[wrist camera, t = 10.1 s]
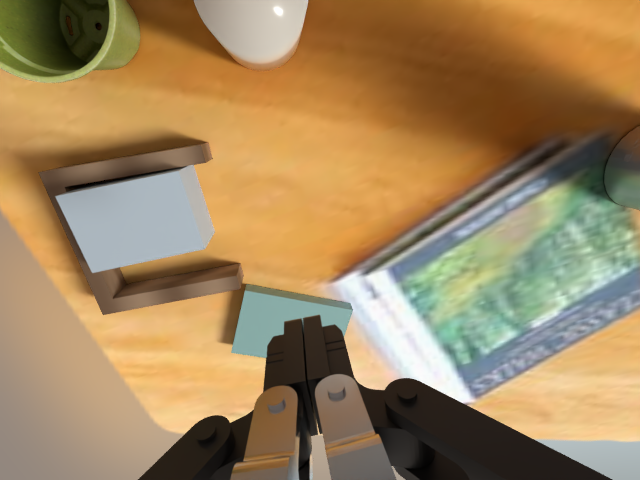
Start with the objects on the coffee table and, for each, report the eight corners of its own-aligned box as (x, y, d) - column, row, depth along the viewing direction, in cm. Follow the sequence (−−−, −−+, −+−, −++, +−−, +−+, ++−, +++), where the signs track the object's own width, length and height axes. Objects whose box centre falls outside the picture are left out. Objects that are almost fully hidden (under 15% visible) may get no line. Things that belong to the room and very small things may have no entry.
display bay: (208, 142, 31) (200, 144, 29) (243, 275, 36) (240, 288, 33) (60, 167, 31) (38, 172, 28) (117, 299, 36) (102, 315, 33)
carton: (193, 163, 32) (178, 170, 27) (215, 231, 35) (204, 249, 30) (88, 184, 32) (55, 196, 27) (118, 251, 34) (92, 273, 30)
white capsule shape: (317, 16, 29) (331, -25, 20) (271, 88, 30) (268, 77, 22) (246, -46, 27) (230, -120, 18) (201, 34, 28) (168, 0, 20)
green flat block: (349, 300, 39) (352, 310, 38) (331, 356, 42) (333, 367, 40) (246, 281, 37) (245, 290, 35) (233, 341, 40) (231, 352, 38)
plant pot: (170, 92, 30) (128, 82, 22) (55, 92, 29) (-34, 82, 21) (152, -39, 26) (94, -107, 18) (22, -43, 25) (-100, -118, 17)
